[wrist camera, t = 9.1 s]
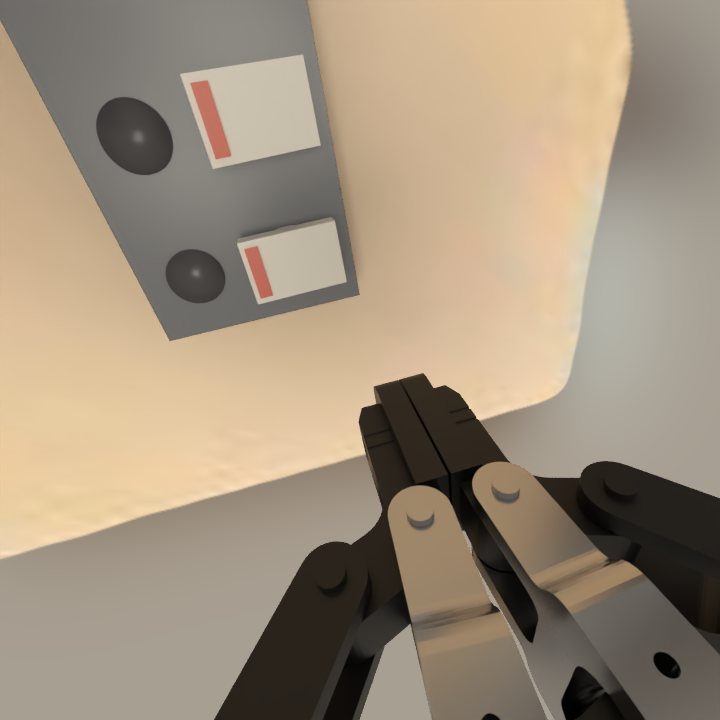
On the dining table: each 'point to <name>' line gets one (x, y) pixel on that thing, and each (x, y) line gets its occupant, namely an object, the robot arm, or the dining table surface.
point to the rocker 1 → (252, 110)
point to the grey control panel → (180, 143)
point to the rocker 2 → (293, 259)
